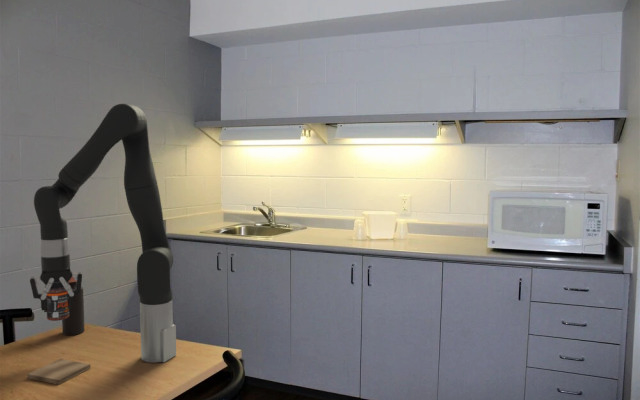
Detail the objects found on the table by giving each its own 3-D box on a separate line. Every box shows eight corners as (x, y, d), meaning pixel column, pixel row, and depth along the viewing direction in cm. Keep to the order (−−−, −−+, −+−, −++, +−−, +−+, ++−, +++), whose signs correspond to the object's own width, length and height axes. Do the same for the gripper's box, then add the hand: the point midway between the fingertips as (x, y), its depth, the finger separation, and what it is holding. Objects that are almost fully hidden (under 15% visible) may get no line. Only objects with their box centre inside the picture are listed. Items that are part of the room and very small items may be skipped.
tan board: (90, 368, 146) (90, 364, 146) (59, 384, 136) (58, 380, 136) (60, 362, 150) (60, 358, 150) (27, 378, 140) (27, 373, 140)
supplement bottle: (60, 322, 150) (58, 283, 149) (42, 320, 151) (40, 282, 150) (74, 315, 155) (72, 278, 154) (56, 314, 157) (54, 278, 156)
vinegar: (77, 327, 181) (75, 271, 179) (88, 331, 177) (86, 274, 175) (58, 332, 175) (56, 274, 173) (69, 337, 171) (67, 277, 169)
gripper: (26, 258, 145) (29, 317, 146) (82, 253, 151) (85, 309, 153) (27, 253, 151) (30, 310, 153) (81, 249, 158) (84, 303, 160)
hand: (58, 309), depth 153 cm, fingers closed on supplement bottle, 6 cm apart
